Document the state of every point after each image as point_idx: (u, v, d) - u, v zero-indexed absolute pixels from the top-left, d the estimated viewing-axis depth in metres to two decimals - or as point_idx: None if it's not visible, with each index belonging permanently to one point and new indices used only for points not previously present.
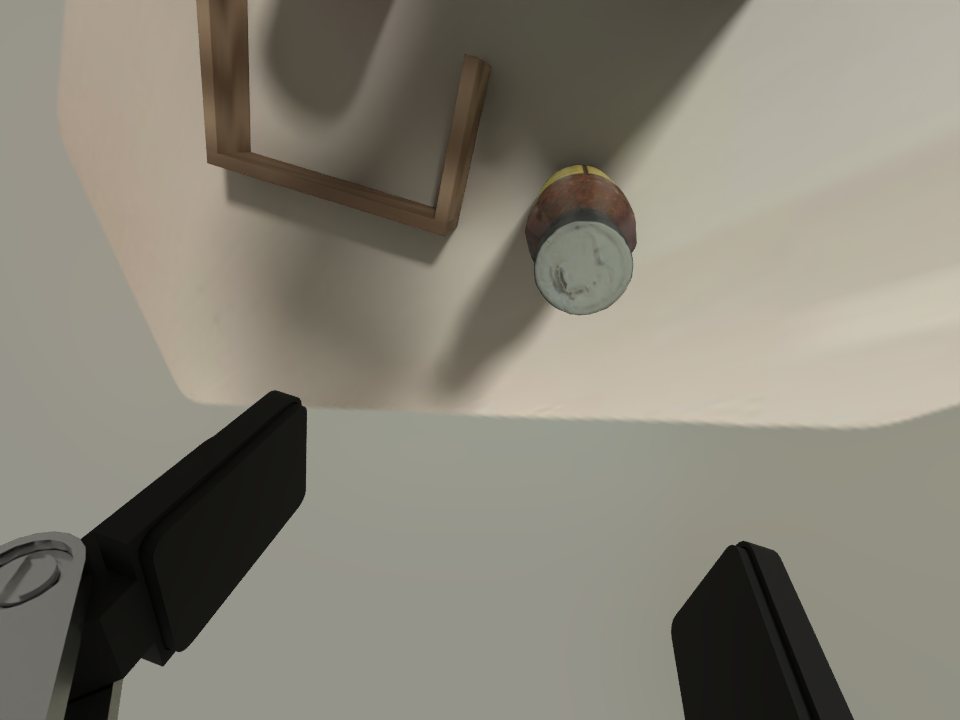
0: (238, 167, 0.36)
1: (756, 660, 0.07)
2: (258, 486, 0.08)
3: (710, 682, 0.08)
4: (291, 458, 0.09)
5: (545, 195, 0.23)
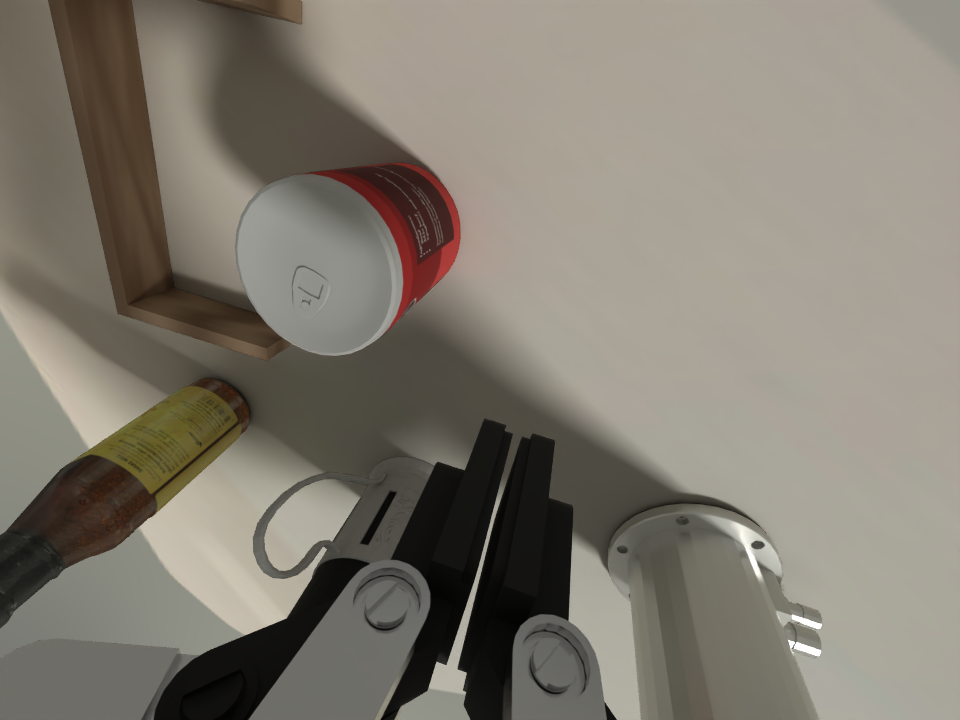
0: (55, 4, 0.23)
1: (503, 512, 0.08)
2: None
3: (490, 545, 0.09)
4: None
5: (89, 500, 0.27)
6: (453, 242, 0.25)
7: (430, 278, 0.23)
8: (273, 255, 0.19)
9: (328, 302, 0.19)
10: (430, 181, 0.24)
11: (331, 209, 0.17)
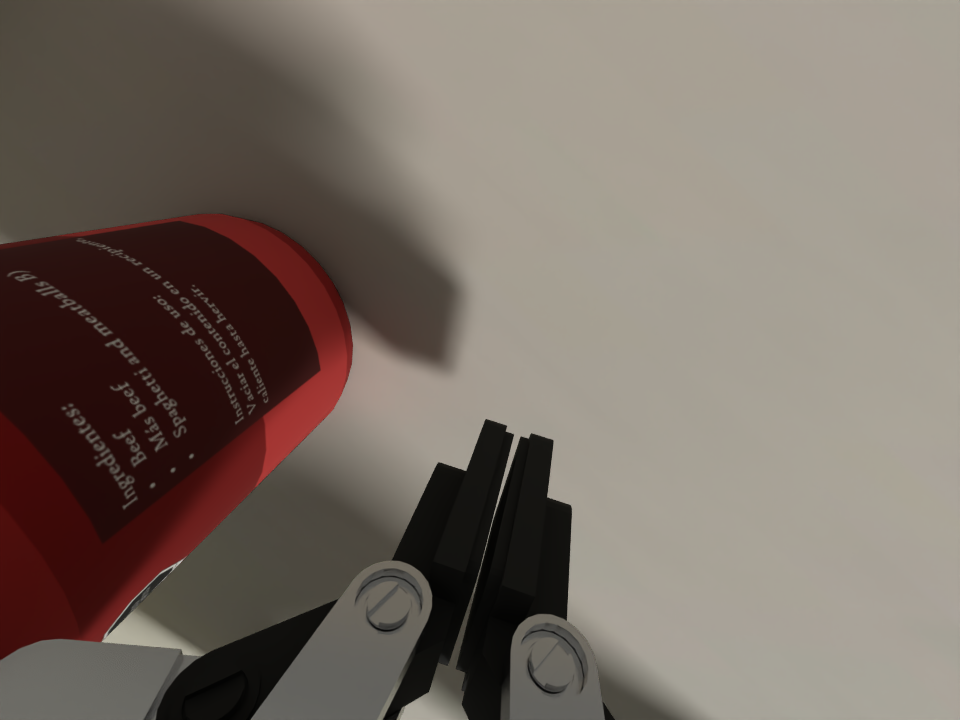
0: None
1: (502, 511, 0.08)
2: None
3: (489, 545, 0.09)
4: None
5: None
6: (319, 377, 0.12)
7: (226, 495, 0.10)
8: None
9: None
10: (260, 258, 0.11)
11: None
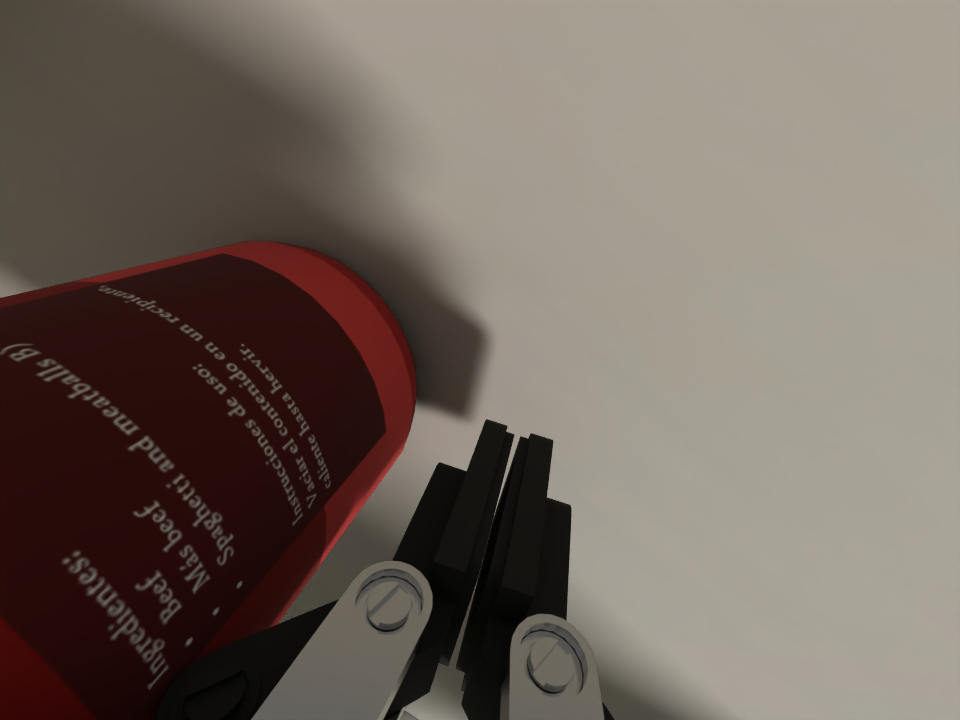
0: None
1: (501, 511, 0.08)
2: None
3: (489, 545, 0.09)
4: None
5: None
6: (384, 441, 0.10)
7: (279, 611, 0.08)
8: None
9: None
10: (318, 298, 0.09)
11: None
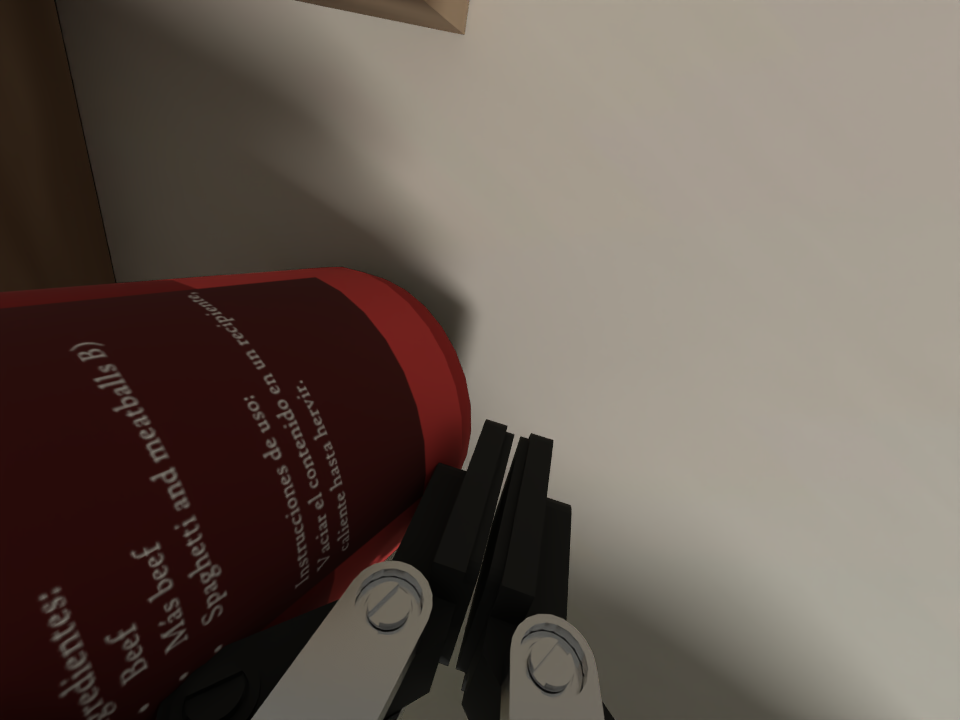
0: None
1: (501, 511, 0.08)
2: None
3: (489, 545, 0.09)
4: None
5: None
6: None
7: None
8: None
9: None
10: (391, 343, 0.09)
11: None
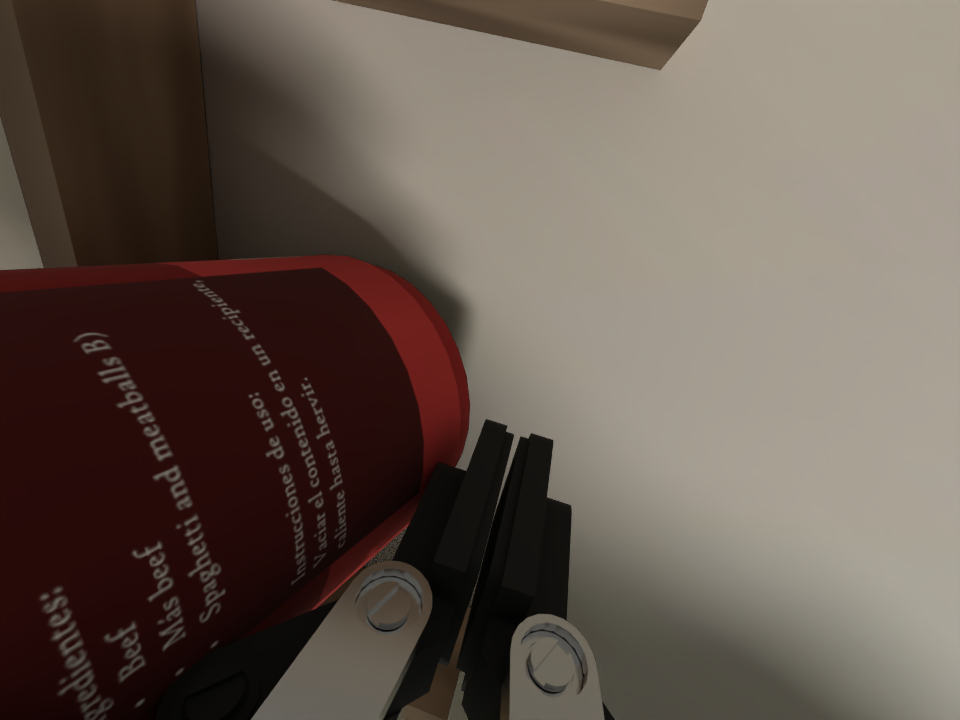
0: None
1: (501, 511, 0.08)
2: None
3: (489, 545, 0.09)
4: None
5: None
6: (413, 502, 0.09)
7: None
8: None
9: None
10: (396, 340, 0.09)
11: None
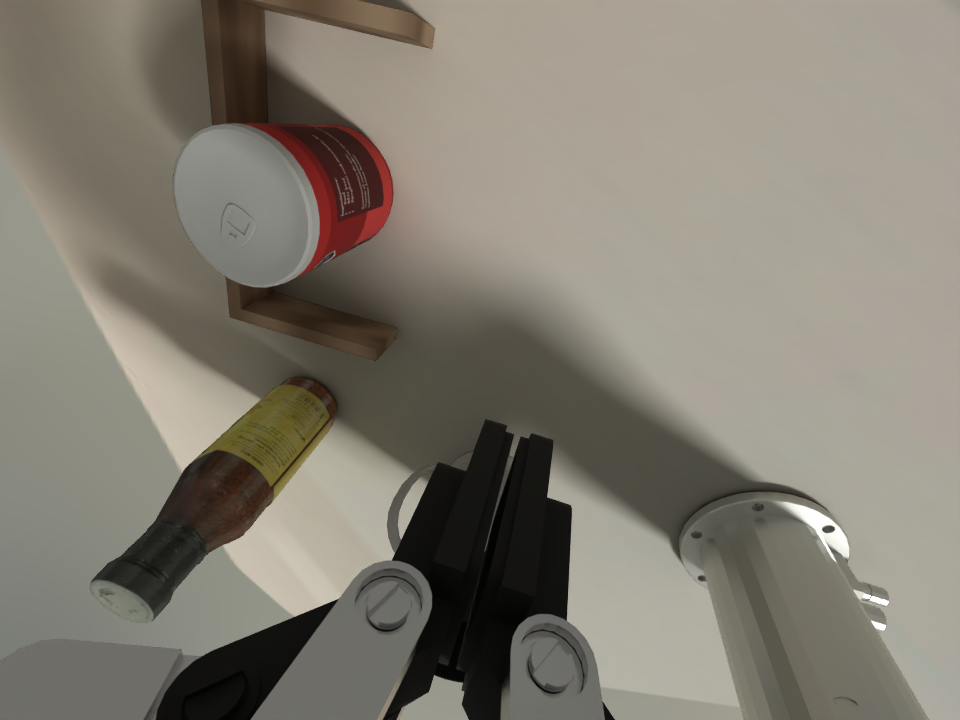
0: (210, 31, 0.24)
1: (502, 511, 0.08)
2: None
3: (489, 545, 0.09)
4: None
5: (226, 492, 0.29)
6: (382, 208, 0.29)
7: (352, 236, 0.26)
8: (207, 188, 0.22)
9: (253, 239, 0.22)
10: (368, 150, 0.27)
11: (263, 160, 0.20)
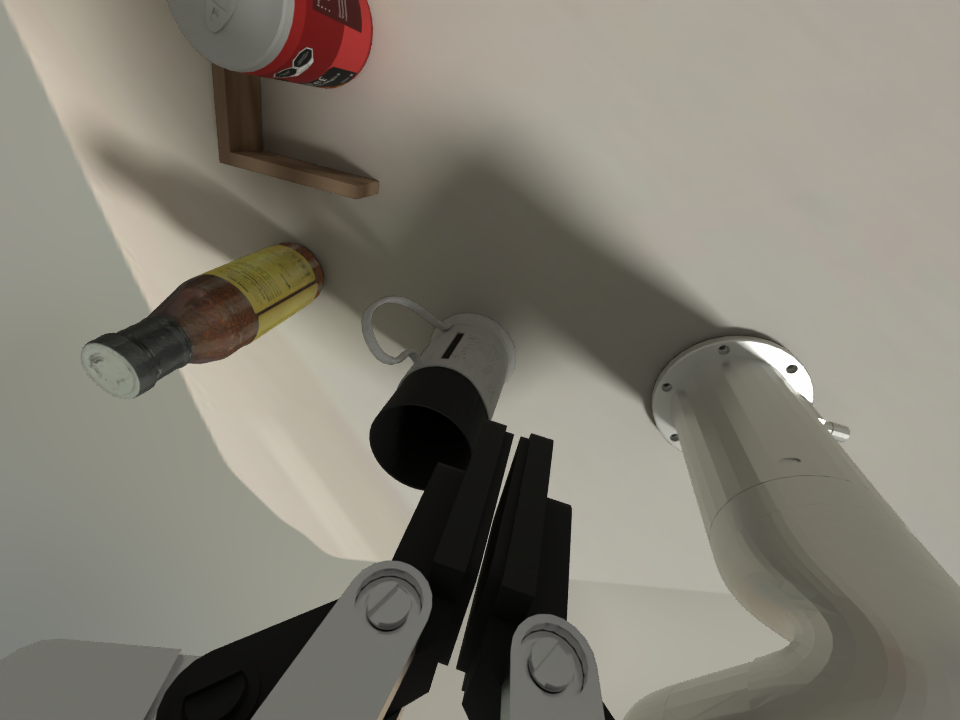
0: None
1: (502, 511, 0.08)
2: None
3: (489, 545, 0.09)
4: None
5: (212, 301, 0.30)
6: (360, 35, 0.30)
7: (329, 44, 0.28)
8: None
9: (234, 17, 0.24)
10: None
11: None
